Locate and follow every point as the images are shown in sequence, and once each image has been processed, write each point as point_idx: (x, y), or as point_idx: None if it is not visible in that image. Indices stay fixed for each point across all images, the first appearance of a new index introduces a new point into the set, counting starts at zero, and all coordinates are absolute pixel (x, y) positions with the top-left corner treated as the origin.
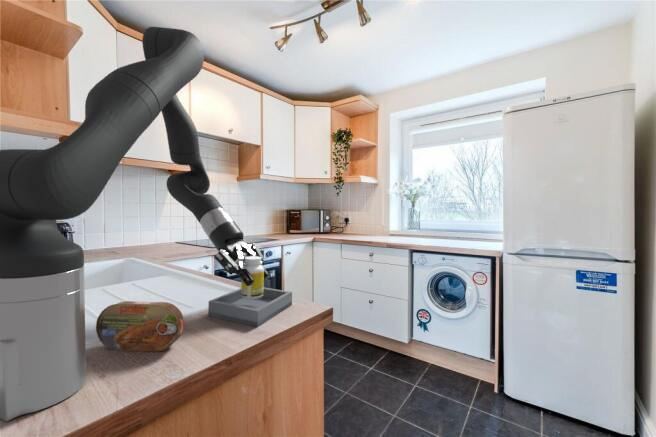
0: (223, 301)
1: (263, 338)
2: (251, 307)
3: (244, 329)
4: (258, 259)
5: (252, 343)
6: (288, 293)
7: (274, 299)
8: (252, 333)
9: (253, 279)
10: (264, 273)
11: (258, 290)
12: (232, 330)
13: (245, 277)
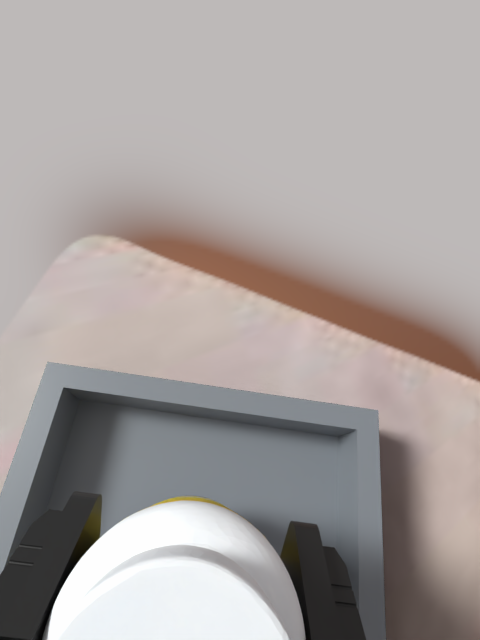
0: None
1: (410, 361)
2: None
3: (388, 464)
4: (219, 561)
5: (453, 379)
6: (79, 372)
7: (202, 406)
8: (400, 415)
9: (299, 527)
10: (88, 530)
11: (225, 506)
12: (418, 508)
13: (353, 599)
